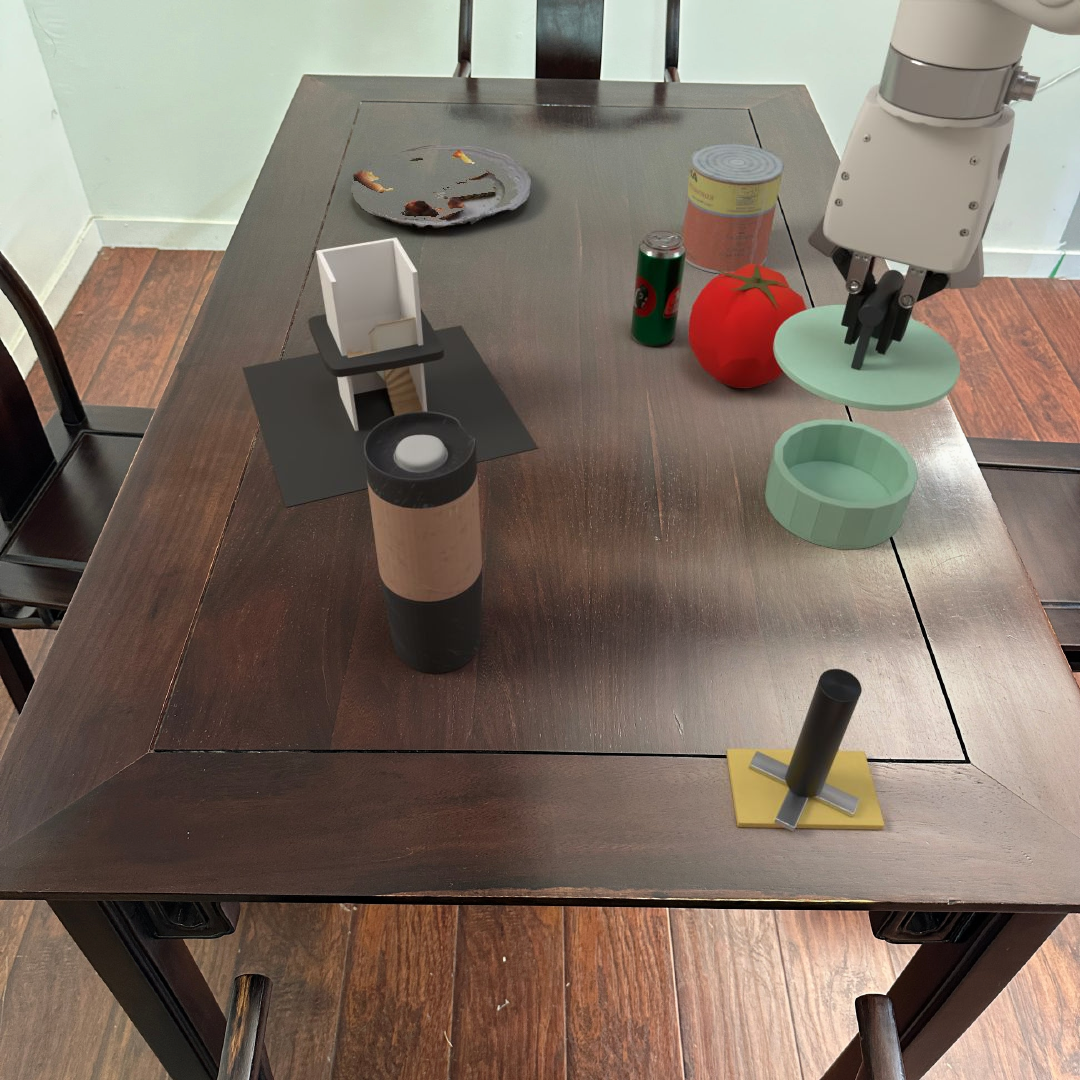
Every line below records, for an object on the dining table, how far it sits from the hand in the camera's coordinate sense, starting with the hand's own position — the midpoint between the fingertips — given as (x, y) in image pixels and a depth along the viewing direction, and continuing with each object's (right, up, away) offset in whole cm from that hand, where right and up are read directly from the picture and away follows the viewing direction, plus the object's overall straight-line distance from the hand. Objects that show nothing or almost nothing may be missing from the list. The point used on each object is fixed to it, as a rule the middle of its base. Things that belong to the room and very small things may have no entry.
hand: (869, 339), depth 72 cm
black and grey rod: (-6, -32, -4) cm, 33 cm away
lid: (0, -1, +1) cm, 2 cm away
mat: (-6, -33, -3) cm, 33 cm away
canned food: (-1, +22, +54) cm, 58 cm away
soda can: (-12, +8, +39) cm, 42 cm away
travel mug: (-33, -23, +6) cm, 41 cm away
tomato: (-3, +4, +35) cm, 35 cm away
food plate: (-39, +33, +65) cm, 82 cm away
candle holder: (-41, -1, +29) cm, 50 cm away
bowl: (+3, -11, +19) cm, 22 cm away
